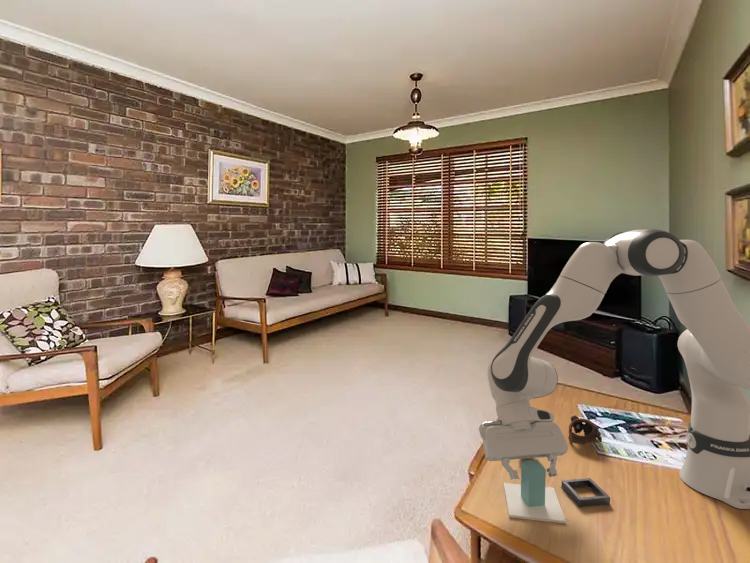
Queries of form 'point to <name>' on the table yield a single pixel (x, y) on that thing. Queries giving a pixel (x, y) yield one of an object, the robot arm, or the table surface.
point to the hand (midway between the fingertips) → (534, 477)
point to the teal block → (533, 483)
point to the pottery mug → (588, 428)
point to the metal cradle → (585, 501)
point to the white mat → (540, 513)
